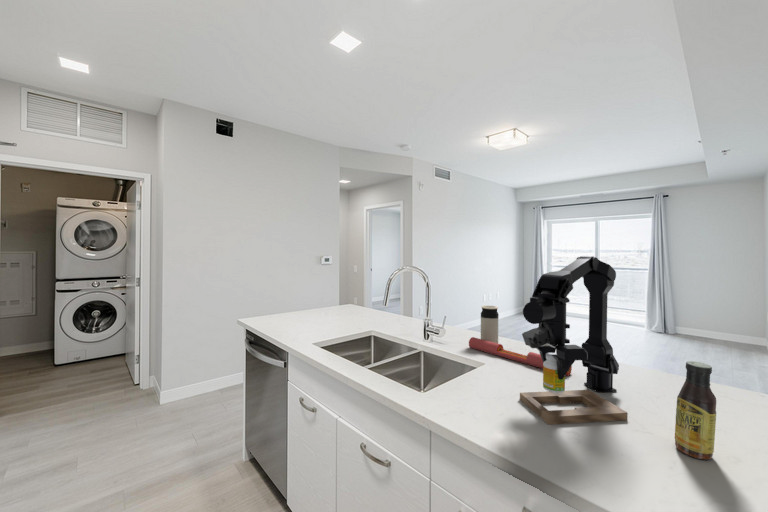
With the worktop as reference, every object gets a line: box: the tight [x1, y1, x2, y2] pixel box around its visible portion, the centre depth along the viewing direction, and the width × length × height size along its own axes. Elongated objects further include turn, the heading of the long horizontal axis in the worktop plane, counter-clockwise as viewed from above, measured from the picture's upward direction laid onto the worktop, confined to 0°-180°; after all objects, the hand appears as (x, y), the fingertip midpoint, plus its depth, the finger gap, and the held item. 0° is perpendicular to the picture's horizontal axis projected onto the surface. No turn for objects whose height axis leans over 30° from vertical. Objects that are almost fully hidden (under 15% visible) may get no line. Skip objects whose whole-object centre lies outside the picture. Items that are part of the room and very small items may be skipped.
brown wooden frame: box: [519, 389, 629, 425], centre depth 90 cm, size 22×14×2 cm, turn 96°
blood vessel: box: [468, 336, 573, 377], centre depth 131 cm, size 42×5×5 cm, turn 38°
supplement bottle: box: [542, 352, 566, 393], centre depth 89 cm, size 5×5×10 cm
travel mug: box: [480, 305, 499, 344], centre depth 152 cm, size 8×8×18 cm
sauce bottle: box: [674, 360, 717, 461], centre depth 70 cm, size 7×6×20 cm
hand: (554, 375), depth 89 cm, fingers closed on supplement bottle, 5 cm apart
